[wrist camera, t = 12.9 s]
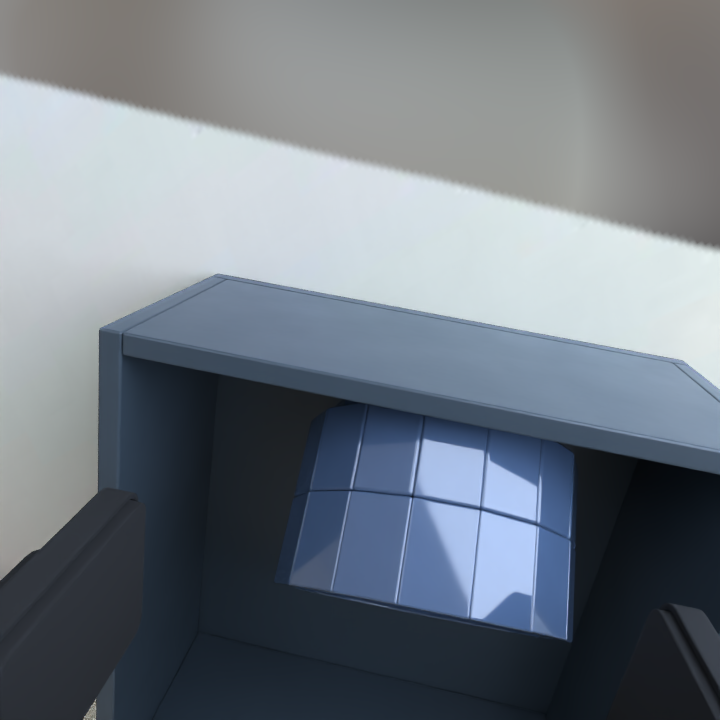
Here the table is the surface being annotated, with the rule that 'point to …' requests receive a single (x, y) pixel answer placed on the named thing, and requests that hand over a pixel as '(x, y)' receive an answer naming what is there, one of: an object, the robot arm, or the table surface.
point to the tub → (277, 489)
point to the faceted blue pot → (435, 520)
